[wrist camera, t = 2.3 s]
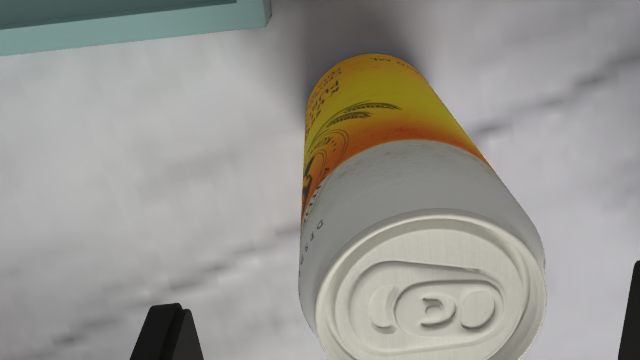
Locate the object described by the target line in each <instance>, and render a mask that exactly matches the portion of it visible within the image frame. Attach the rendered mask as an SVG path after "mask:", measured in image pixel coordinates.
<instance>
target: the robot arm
mask: <svg viewBox="0 0 640 360" xmlns="http://www.w3.org/2000/svg"><path fill="white" fill-rule="evenodd" d="M130 360H204V358H203V354H202V351H201V347H200V343H199V339H198V336H197V332H196V328H195V324H194V320H193V317H192V313H191V311H190V309H182V306H181V305H180V304H179V303H173V304H164V305H155V306H152V307H151V308H150V309H149V312H148V314H147V317H146V319H145V322H144V324H143V327H142V329H141V332H140V335H139V337H138V340H137V342H136V345H135V347H134V350H133V352H132V355H131V357H130ZM618 360H640V260H639V261H637V262H636V263H635V265H634V269H633V275H632V280H631V286H630V292H629V297H628V303H627V309H626V314H625V320H624V326H623V331H622V337H621V343H620V348H619V354H618Z"/></svg>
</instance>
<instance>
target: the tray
mask: <svg viewBox="0 0 640 360" xmlns="http://www.w3.org/2000/svg"><path fill="white" fill-rule="evenodd" d="M271 16H272V14H271V7H270V0H0V56H8V55H16V54H25V53H34V52H43V51H52V50H61V49H70V48H79V47H88V46H97V45H106V44H115V43H124V42H133V41H142V40H151V39H160V38H169V37H177V36H186V35H195V34H204V33H213V32H222V31H231V30H240V29H249V28H258V27H266V26H267V24H268V22H269V20H270V18H271Z"/></svg>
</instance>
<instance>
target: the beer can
mask: <svg viewBox="0 0 640 360" xmlns="http://www.w3.org/2000/svg"><path fill="white" fill-rule="evenodd" d="M298 290H299V299H300V303H301V307H302V311H303V313H304V316H305V318H306V321H307V323H308V324H309V326H310V328H311V330H312V331H313V332H314V334H315V335H316V336H317V338H318V339H319V341H320V344H321V346H322V348H323V350H324V352H325V353H326V355H327V357H328V358H329V359H330V360H520V359H521V358H522V357H523V355H524V354H525V353H526V352H527V351H528V349H529V348H530V347H531V345H532V344H533V342H534V340H535V339H536V337H537V335H538V333H539V331H540V328H541V326H542V324H543V320H544V316H545V312H546V305H547V291H546V284H545V255H544V248H543V245H542V242H541V239H540V236H539V234H538V232H537V230H536V228H535V225H534V224H533V223H532V221H531V220H530V218H529V217H528V215H527V214H526V212H525V211H524V210H523V208H522V207H521V206H520V204H519V203H518V202H517V201H516V199H515V198H514V197H513V195H512V194H511V193H510V191H509V190H508V189H507V187H506V186H505V185H504V183H503V182H502V181H501V179H500V178H499V177H498V175H497V174H496V173H495V171H494V170H493V169H492V167H491V166H490V165H489V163H488V162H487V161H486V159H485V158H484V157H483V155H482V154H481V153H480V151H479V150H478V149H477V147H476V146H475V145H474V143H473V142H472V141H471V139H470V138H469V137H468V135H467V134H466V133H465V132H464V130H463V129H462V128H461V126H460V125H459V124H458V122H457V121H456V120H455V118H454V117H453V116H452V114H451V113H450V112H449V110H448V109H447V108H446V106H445V105H444V104H443V102H442V101H441V100H440V98H439V97H438V96H437V94H436V93H435V92H434V90H433V89H432V88H431V86H430V85H429V84H428V82H427V81H426V80H425V78H424V77H423V76H422V75H421V74H420V73H419V71H417V70H416V69H415V68H414V67H413V66H411V65H410V64H408V63H407V62H405V61H403V60H401V59H399V58H396V57H393V56H390V55H385V54H377V53H376V54H362V55H357V56H353V57H351V58H348V59H345V60H343V61H341V62H339V63H338V64H336V65H335V66H333V67H332V68H331V69H329V70H328V71H327V72H326V73H325V74H324V75H323V76H322V77H321V78H320V80H319V81H318V82H317V84H316V85H315V87H314V89H313V90H312V93H311V95H310V97H309V100H308V104H307V109H306V123H305V145H304V167H303V190H302V212H301V235H300V257H299V280H298Z"/></svg>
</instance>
